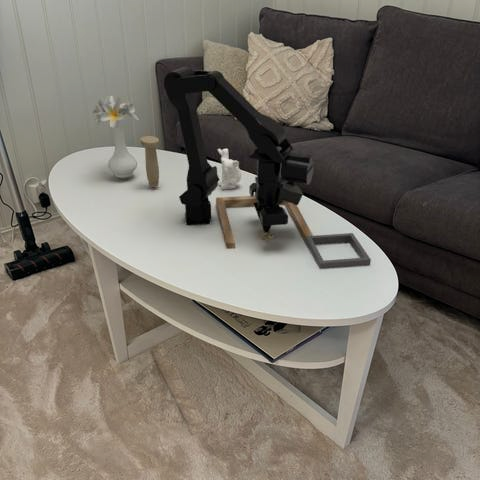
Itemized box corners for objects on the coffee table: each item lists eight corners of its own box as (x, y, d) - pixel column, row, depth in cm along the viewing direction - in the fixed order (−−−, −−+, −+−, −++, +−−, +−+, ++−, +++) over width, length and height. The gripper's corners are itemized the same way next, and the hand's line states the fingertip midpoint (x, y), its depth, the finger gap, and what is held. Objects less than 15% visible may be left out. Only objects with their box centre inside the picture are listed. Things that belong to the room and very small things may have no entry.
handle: (151, 190, 144) (147, 144, 136) (142, 183, 149) (137, 137, 141) (165, 187, 147) (162, 141, 139) (156, 180, 151) (152, 134, 143)
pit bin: (319, 274, 108) (320, 263, 107) (305, 246, 118) (306, 236, 117) (368, 270, 110) (370, 259, 108) (351, 243, 120) (352, 233, 118)
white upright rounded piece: (211, 185, 148) (210, 149, 142) (228, 179, 152) (228, 144, 146) (228, 194, 143) (228, 157, 136) (245, 188, 146) (245, 152, 140)
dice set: (267, 233, 125) (267, 227, 124) (278, 242, 121) (278, 236, 120) (251, 238, 123) (251, 232, 122) (261, 247, 119) (261, 241, 118)
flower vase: (130, 160, 165) (122, 87, 152) (151, 179, 151) (143, 101, 138) (94, 168, 159) (81, 93, 146) (112, 188, 145) (100, 107, 132)
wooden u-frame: (226, 252, 116) (226, 243, 114) (216, 205, 137) (216, 197, 135) (313, 245, 119) (314, 237, 117) (289, 201, 140) (290, 193, 138)
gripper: (311, 191, 107) (306, 248, 115) (291, 160, 123) (287, 212, 131) (264, 194, 105) (261, 252, 114) (249, 162, 121) (248, 215, 129)
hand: (266, 231), depth 122 cm, fingers closed
